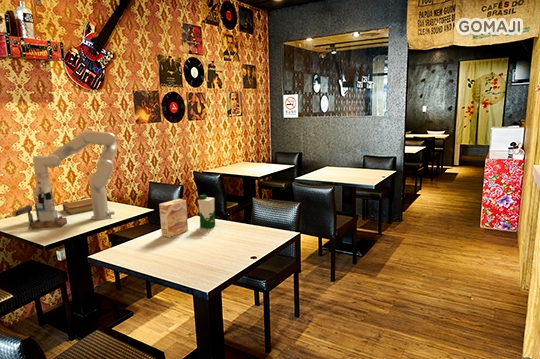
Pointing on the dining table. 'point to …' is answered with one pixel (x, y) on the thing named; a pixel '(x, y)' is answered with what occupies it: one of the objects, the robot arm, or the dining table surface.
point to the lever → (22, 210)
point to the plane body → (49, 223)
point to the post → (30, 218)
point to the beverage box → (46, 205)
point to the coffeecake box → (173, 217)
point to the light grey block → (48, 215)
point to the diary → (78, 206)
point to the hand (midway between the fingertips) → (45, 201)
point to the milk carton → (206, 212)
